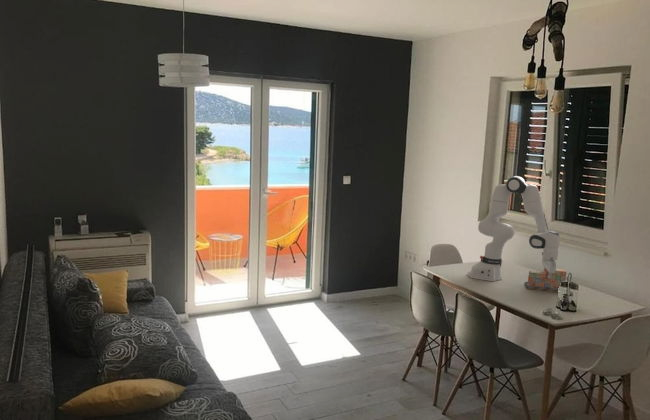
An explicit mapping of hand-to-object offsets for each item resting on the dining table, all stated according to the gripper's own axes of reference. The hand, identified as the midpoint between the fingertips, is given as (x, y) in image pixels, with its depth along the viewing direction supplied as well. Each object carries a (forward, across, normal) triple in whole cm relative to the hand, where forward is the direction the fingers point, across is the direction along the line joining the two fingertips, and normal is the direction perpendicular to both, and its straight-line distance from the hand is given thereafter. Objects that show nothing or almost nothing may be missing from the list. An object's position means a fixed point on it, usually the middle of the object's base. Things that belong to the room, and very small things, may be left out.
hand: (547, 276), depth 351 cm
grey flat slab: (+8, -1, +1) cm, 8 cm away
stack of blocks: (+7, 0, +1) cm, 7 cm away
